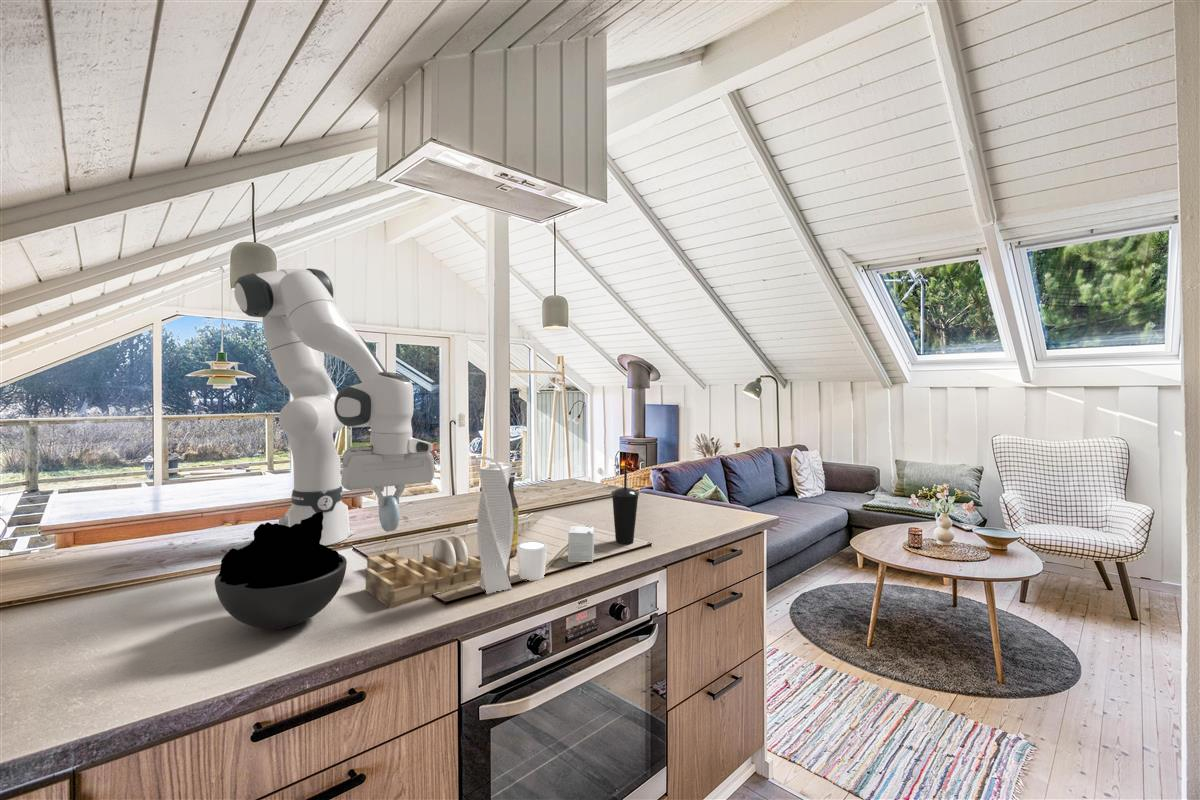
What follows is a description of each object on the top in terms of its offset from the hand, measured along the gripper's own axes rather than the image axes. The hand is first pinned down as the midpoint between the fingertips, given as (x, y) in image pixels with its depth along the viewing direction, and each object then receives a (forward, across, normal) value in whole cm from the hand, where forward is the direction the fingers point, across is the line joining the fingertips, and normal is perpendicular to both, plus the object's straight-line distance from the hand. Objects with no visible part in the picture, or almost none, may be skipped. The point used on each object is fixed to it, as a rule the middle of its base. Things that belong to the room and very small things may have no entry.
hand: (388, 505), depth 120 cm
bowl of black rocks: (+16, -24, -13) cm, 32 cm away
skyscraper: (+14, +12, -25) cm, 31 cm away
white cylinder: (+14, +22, -25) cm, 36 cm away
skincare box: (+13, +38, -25) cm, 47 cm away
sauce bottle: (+14, +26, -9) cm, 31 cm away
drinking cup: (+13, +56, -23) cm, 62 cm away
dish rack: (+15, +2, -14) cm, 20 cm away
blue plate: (+6, 0, 0) cm, 6 cm away
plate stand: (+15, 0, -1) cm, 15 cm away
